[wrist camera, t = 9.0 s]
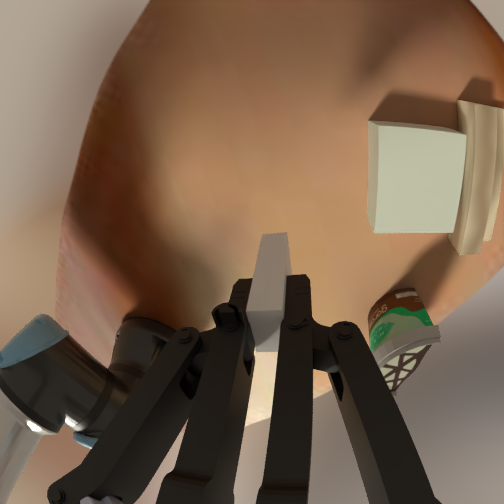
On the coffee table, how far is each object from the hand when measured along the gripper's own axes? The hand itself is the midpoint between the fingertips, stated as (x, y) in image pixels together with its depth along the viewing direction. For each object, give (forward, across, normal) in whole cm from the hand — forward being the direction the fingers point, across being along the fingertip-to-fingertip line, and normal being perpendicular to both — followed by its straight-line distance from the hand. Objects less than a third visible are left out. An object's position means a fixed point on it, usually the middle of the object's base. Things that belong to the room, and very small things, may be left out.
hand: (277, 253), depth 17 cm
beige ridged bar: (+11, +22, +1) cm, 25 cm away
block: (+12, +13, +1) cm, 18 cm away
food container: (+12, +12, -18) cm, 25 cm away
